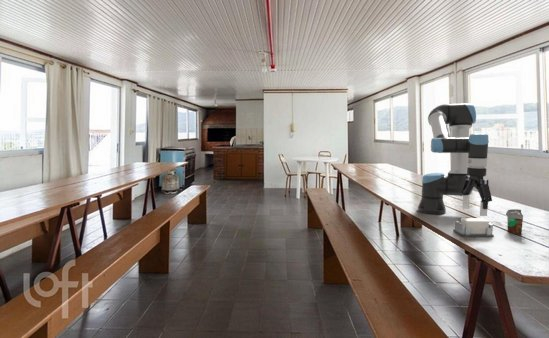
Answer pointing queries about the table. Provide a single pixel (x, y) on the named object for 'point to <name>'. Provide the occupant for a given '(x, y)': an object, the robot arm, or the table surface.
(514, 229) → the food container
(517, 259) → the table surface
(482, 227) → the cream rectangular block
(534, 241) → the table surface
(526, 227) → the table surface
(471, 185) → the robot arm
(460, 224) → the mount
